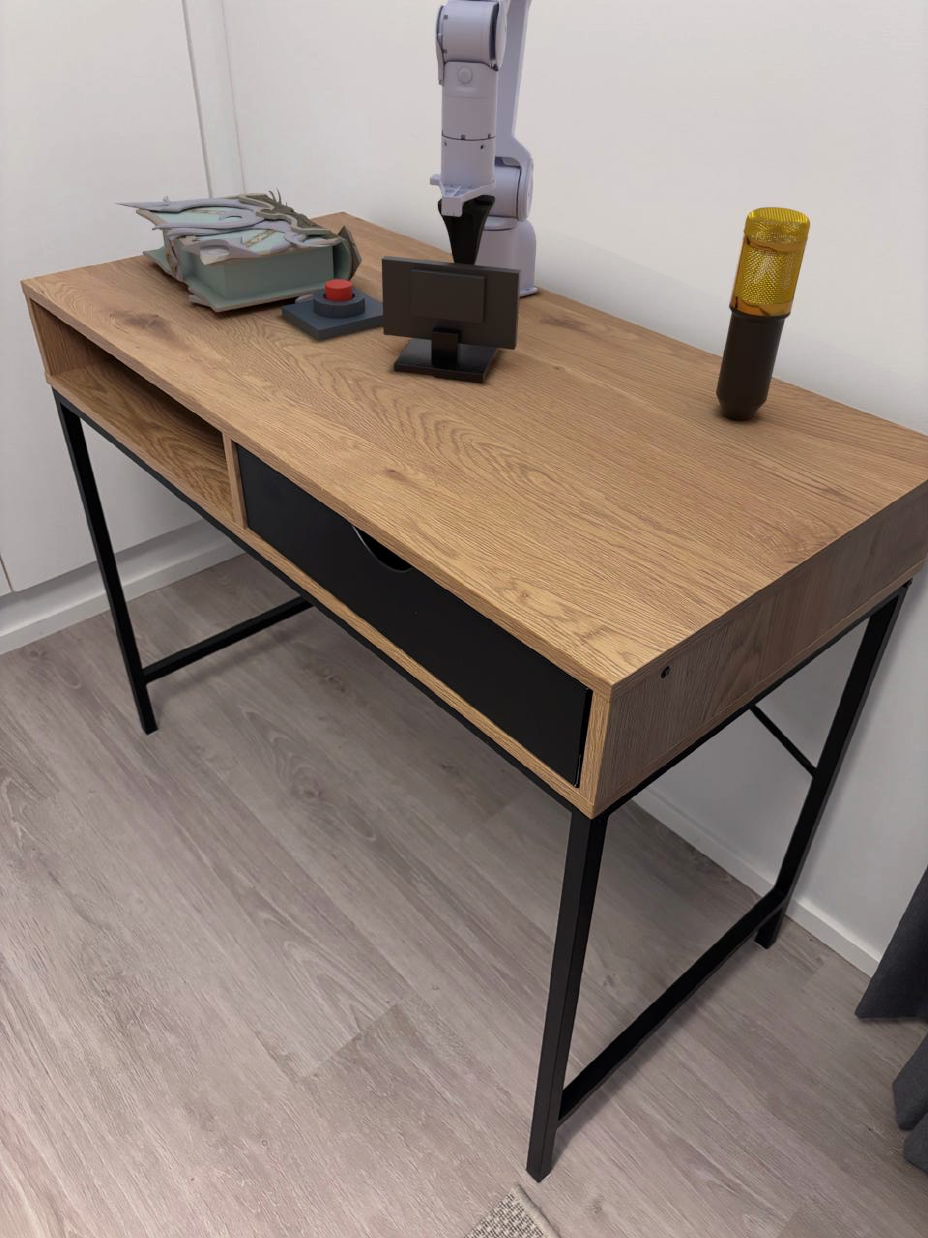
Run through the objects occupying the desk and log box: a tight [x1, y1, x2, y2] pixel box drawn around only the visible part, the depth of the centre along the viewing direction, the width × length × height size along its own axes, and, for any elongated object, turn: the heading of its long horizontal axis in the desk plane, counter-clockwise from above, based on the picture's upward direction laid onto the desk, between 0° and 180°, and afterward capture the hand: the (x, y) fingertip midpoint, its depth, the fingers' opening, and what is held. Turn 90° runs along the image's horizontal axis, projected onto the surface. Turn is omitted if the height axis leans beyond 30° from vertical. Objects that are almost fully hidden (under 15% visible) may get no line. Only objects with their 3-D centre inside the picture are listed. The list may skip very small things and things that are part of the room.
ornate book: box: [114, 188, 363, 313], centre depth 130 cm, size 23×10×30 cm
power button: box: [325, 279, 353, 301], centre depth 119 cm, size 3×3×2 cm
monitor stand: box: [393, 327, 501, 384], centre depth 111 cm, size 9×10×4 cm
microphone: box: [715, 206, 811, 421], centre depth 100 cm, size 6×13×20 cm, turn 34°
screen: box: [381, 255, 521, 351], centre depth 108 cm, size 2×15×8 cm, turn 77°
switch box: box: [281, 287, 383, 342], centre depth 120 cm, size 11×9×3 cm
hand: (464, 265), depth 113 cm, fingers closed
